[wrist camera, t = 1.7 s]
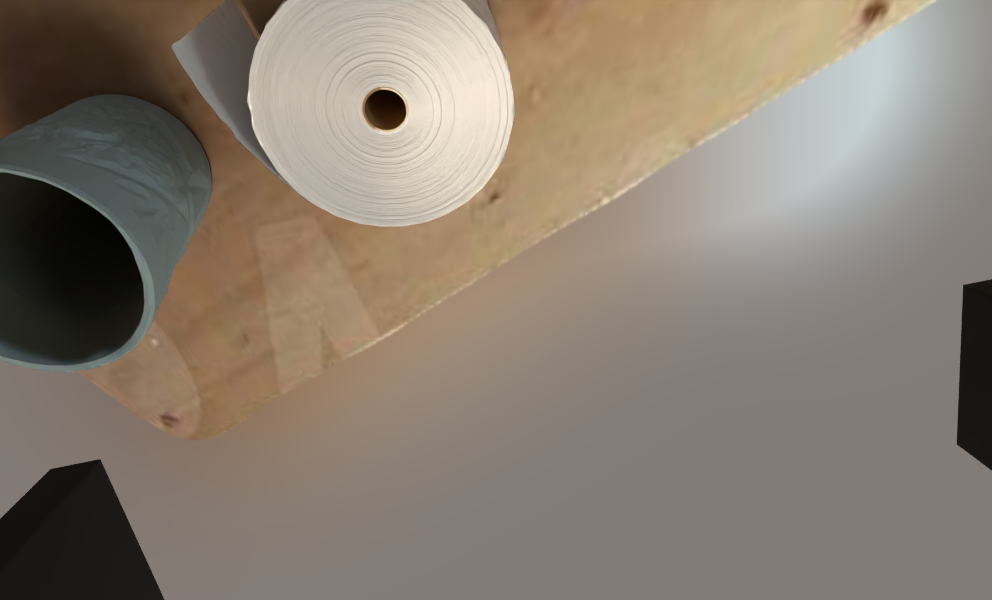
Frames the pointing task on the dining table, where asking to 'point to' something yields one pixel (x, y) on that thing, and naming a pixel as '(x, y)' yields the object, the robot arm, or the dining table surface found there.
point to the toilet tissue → (362, 100)
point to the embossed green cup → (93, 228)
